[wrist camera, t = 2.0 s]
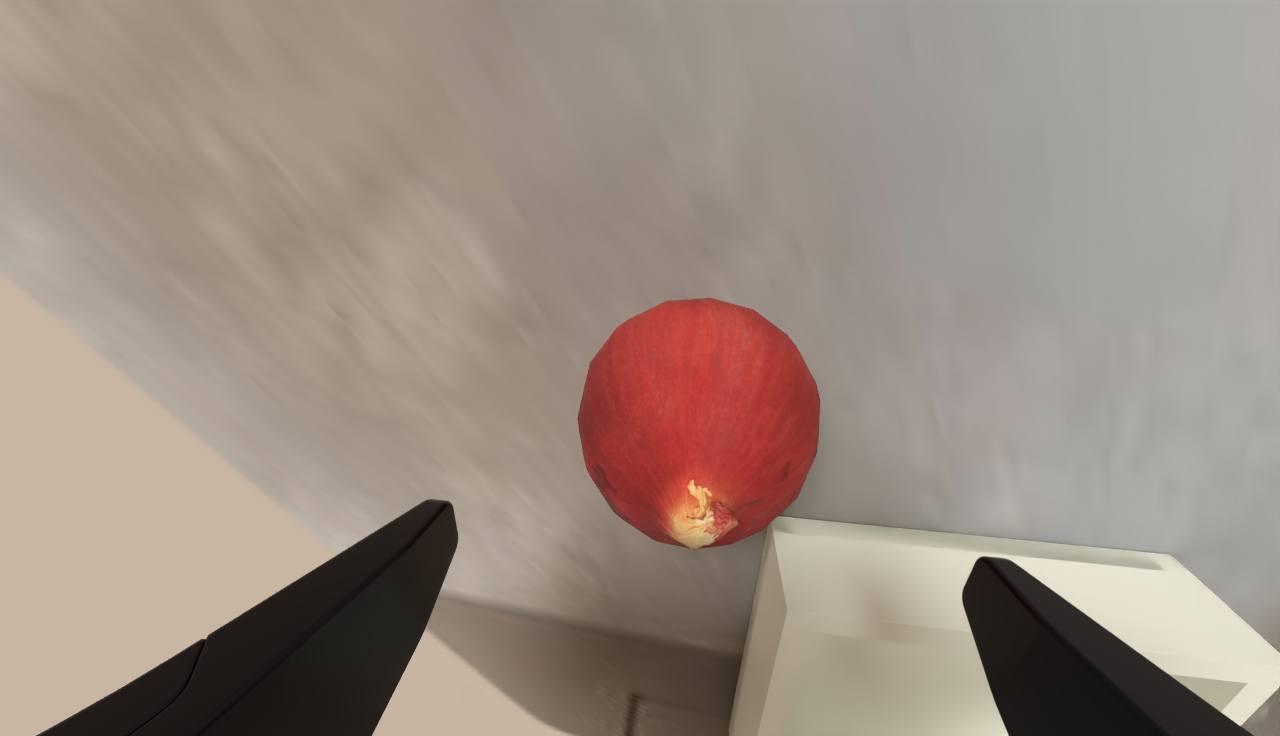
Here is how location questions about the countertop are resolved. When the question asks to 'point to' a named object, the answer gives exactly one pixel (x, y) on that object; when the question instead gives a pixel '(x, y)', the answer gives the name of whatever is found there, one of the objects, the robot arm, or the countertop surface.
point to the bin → (956, 630)
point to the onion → (699, 422)
